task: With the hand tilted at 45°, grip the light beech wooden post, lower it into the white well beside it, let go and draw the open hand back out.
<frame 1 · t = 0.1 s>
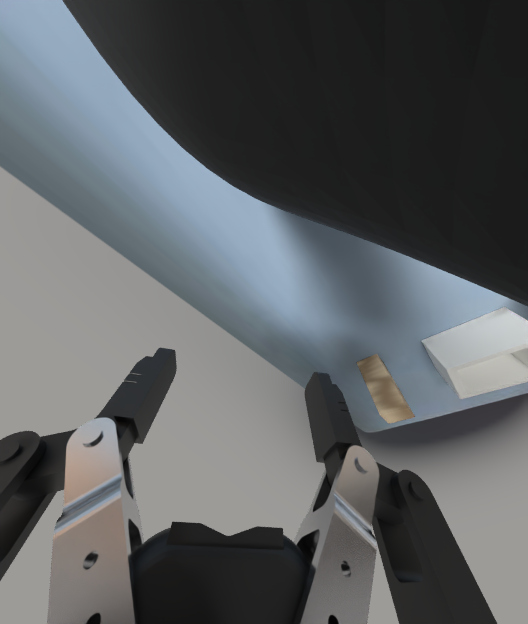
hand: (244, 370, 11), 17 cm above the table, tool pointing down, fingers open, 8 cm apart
beech post: (370, 363, 37), on the table
white well: (465, 343, 33), on the table
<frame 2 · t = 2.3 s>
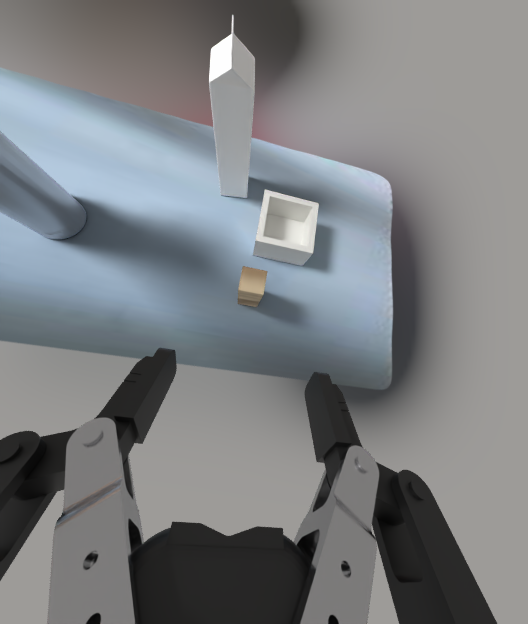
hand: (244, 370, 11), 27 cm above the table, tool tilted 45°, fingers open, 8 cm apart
beech post: (248, 296, 39), on the table
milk: (234, 186, 44), on the table
white well: (281, 237, 43), on the table
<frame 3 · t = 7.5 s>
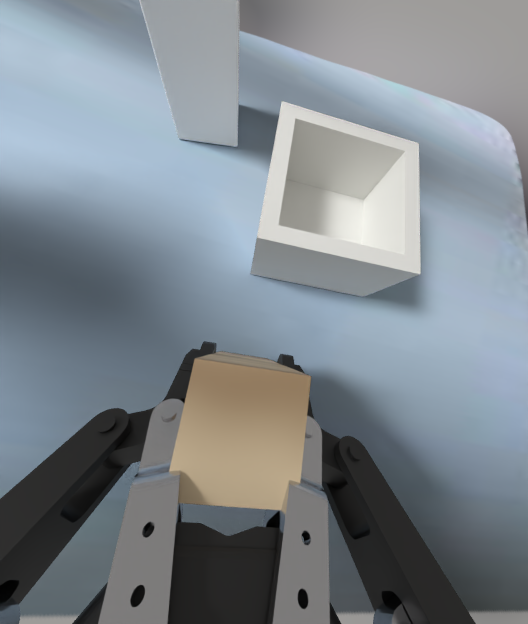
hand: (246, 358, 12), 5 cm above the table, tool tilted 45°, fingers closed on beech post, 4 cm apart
beech post: (239, 379, 16), on the table, touching gripper
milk: (210, 123, 20), on the table
white well: (314, 233, 19), on the table
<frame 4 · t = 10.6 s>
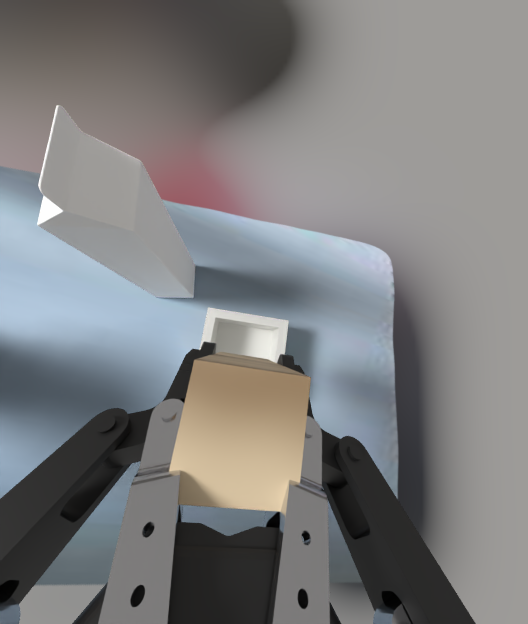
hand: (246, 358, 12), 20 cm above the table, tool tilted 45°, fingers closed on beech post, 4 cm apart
beech post: (239, 379, 16), point 15 cm above the table, touching gripper
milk: (176, 281, 32), on the table
white well: (241, 353, 31), on the table
when the fingers open (8 cm above the table, at t = 14.0 s): beech post drops 2 cm, resting on white well.
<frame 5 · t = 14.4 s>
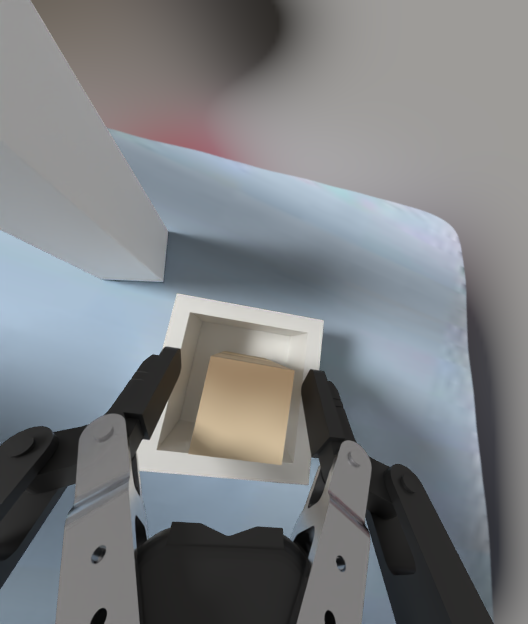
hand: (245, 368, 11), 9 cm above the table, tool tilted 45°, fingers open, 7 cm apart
beech post: (240, 375, 18), point 1 cm above the table, touching white well
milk: (137, 255, 20), on the table
white well: (239, 373, 19), on the table
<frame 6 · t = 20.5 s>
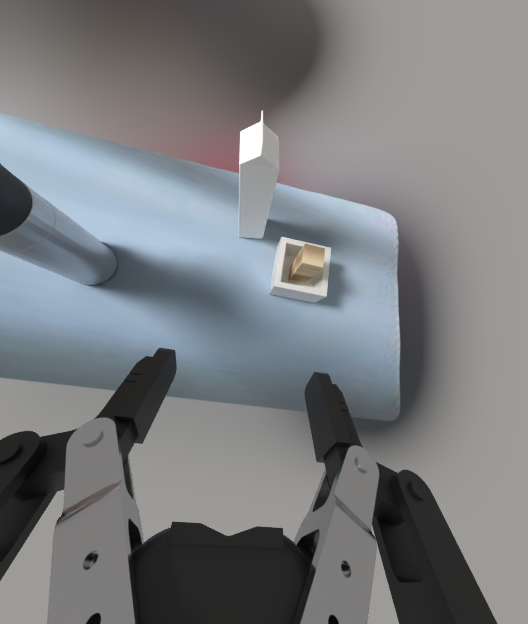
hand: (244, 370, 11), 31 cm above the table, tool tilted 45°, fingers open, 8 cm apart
beech post: (297, 275, 45), point 1 cm above the table, touching white well
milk: (250, 227, 47), on the table
white well: (295, 276, 46), on the table
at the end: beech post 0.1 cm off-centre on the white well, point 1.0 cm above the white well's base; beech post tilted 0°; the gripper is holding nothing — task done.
